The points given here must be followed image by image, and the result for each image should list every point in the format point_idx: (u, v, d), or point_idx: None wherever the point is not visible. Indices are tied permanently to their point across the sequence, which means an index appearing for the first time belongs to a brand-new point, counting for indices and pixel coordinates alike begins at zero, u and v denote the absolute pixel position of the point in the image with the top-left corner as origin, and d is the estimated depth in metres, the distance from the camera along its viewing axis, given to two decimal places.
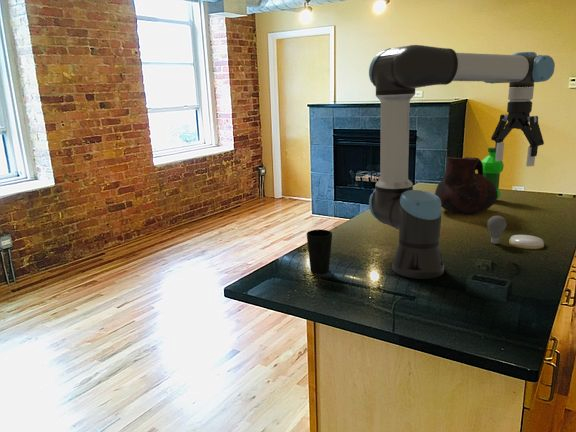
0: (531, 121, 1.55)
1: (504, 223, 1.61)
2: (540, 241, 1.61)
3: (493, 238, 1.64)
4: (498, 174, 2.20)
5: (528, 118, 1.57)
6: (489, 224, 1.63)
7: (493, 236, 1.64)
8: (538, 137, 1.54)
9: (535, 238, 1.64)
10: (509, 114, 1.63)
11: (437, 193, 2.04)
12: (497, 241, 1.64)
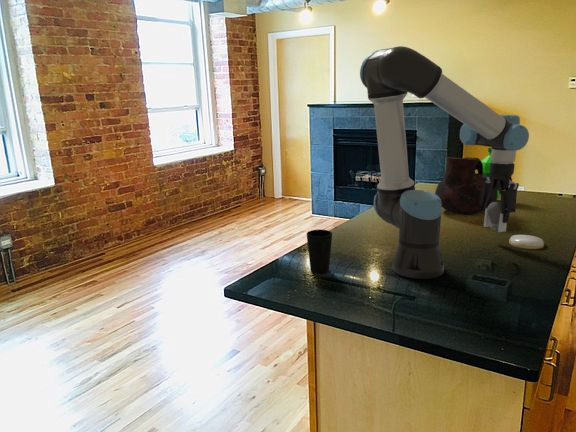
0: (510, 188, 1.54)
1: None
2: (540, 241, 1.61)
3: (492, 224, 1.63)
4: None
5: (509, 183, 1.55)
6: (489, 210, 1.61)
7: (492, 222, 1.62)
8: (511, 205, 1.55)
9: (535, 238, 1.64)
10: (491, 174, 1.61)
11: (437, 193, 2.04)
12: (496, 227, 1.62)
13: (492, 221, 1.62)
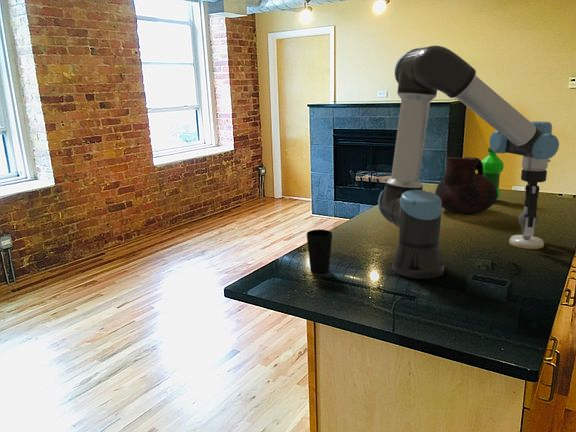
0: (529, 191, 1.54)
1: None
2: (540, 241, 1.61)
3: (523, 233, 1.63)
4: (498, 174, 2.20)
5: None
6: None
7: (522, 231, 1.63)
8: (530, 209, 1.52)
9: (535, 238, 1.64)
10: None
11: (437, 193, 2.04)
12: (526, 236, 1.62)
13: (522, 230, 1.63)
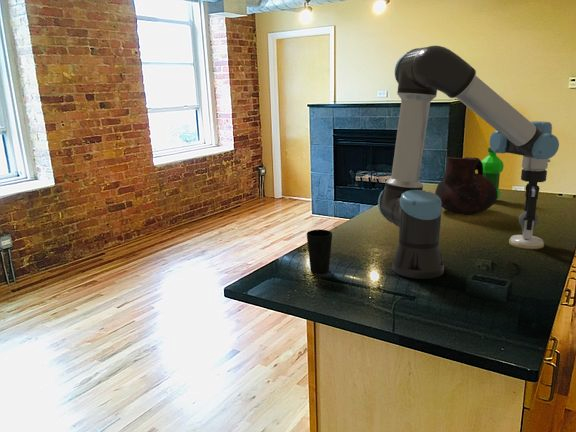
0: (528, 195, 1.55)
1: None
2: (540, 241, 1.61)
3: (523, 233, 1.63)
4: (498, 174, 2.20)
5: (531, 190, 1.55)
6: (519, 217, 1.63)
7: (522, 230, 1.63)
8: (529, 212, 1.55)
9: (535, 238, 1.64)
10: None
11: (437, 193, 2.04)
12: None
13: (522, 229, 1.63)
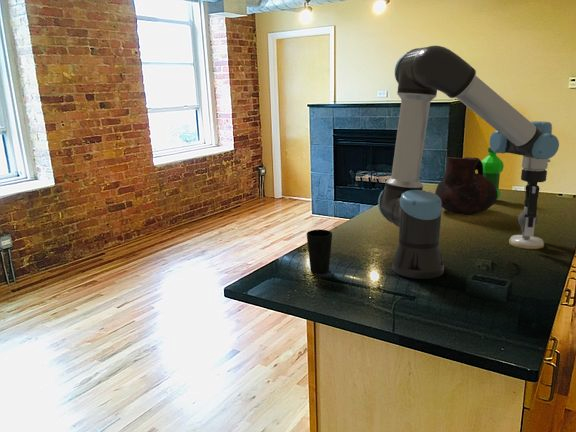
0: (529, 191, 1.54)
1: (536, 218, 1.60)
2: (540, 241, 1.61)
3: None
4: (498, 174, 2.20)
5: None
6: (521, 219, 1.61)
7: None
8: (530, 209, 1.52)
9: (535, 238, 1.64)
10: None
11: (437, 193, 2.04)
12: (529, 236, 1.62)
13: (524, 230, 1.62)
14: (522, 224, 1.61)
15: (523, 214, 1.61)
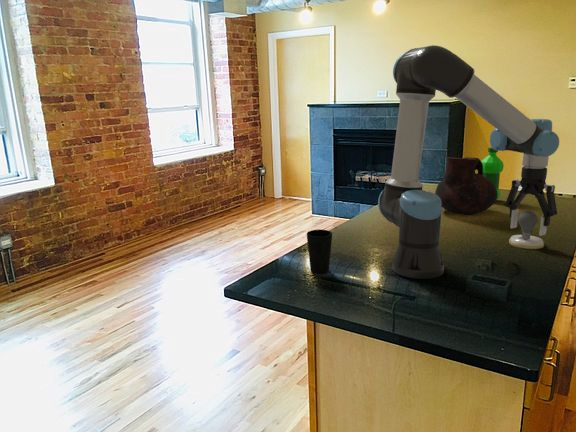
0: (548, 191, 1.53)
1: None
2: (540, 241, 1.61)
3: (528, 234, 1.62)
4: (498, 174, 2.20)
5: (545, 186, 1.55)
6: (530, 221, 1.59)
7: (529, 232, 1.61)
8: (553, 208, 1.53)
9: (535, 238, 1.64)
10: (523, 179, 1.60)
11: (437, 193, 2.04)
12: None
13: (529, 231, 1.61)
14: (530, 225, 1.60)
15: (529, 215, 1.59)
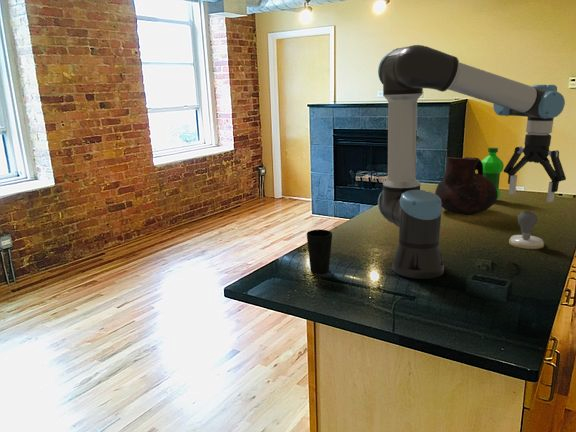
0: (553, 156, 1.50)
1: None
2: (540, 241, 1.61)
3: (528, 234, 1.62)
4: (498, 174, 2.20)
5: (548, 152, 1.52)
6: (530, 221, 1.59)
7: (529, 232, 1.61)
8: (561, 172, 1.49)
9: (535, 238, 1.64)
10: (526, 147, 1.57)
11: (437, 193, 2.04)
12: None
13: (529, 231, 1.61)
14: (530, 225, 1.60)
15: (529, 215, 1.59)
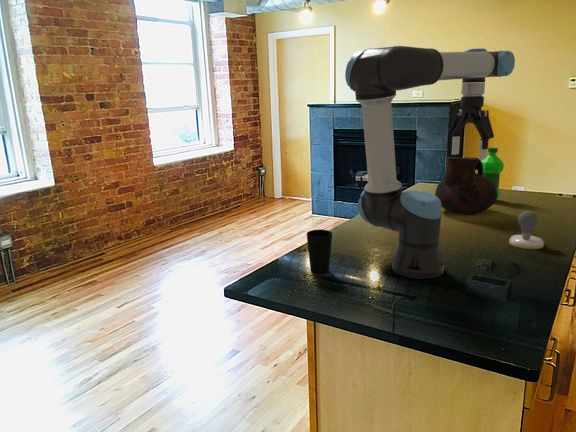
0: (482, 115, 1.61)
1: None
2: (540, 241, 1.61)
3: (528, 234, 1.62)
4: (498, 174, 2.20)
5: (479, 112, 1.63)
6: (530, 221, 1.59)
7: (529, 232, 1.61)
8: (488, 130, 1.60)
9: (535, 238, 1.64)
10: (463, 109, 1.69)
11: (437, 193, 2.04)
12: None
13: (529, 231, 1.61)
14: (530, 225, 1.60)
15: (530, 215, 1.59)
